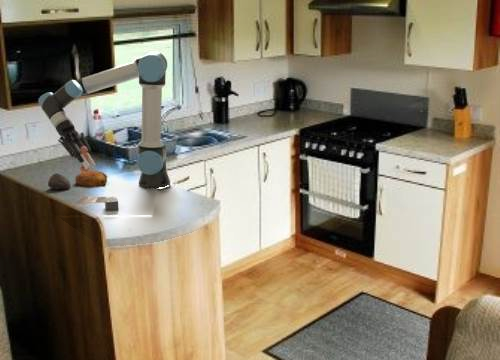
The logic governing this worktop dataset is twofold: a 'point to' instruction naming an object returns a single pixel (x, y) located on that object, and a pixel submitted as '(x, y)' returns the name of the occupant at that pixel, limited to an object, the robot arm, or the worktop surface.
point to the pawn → (84, 152)
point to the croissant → (91, 178)
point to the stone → (58, 182)
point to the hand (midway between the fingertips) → (90, 166)
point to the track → (93, 199)
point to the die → (111, 204)
